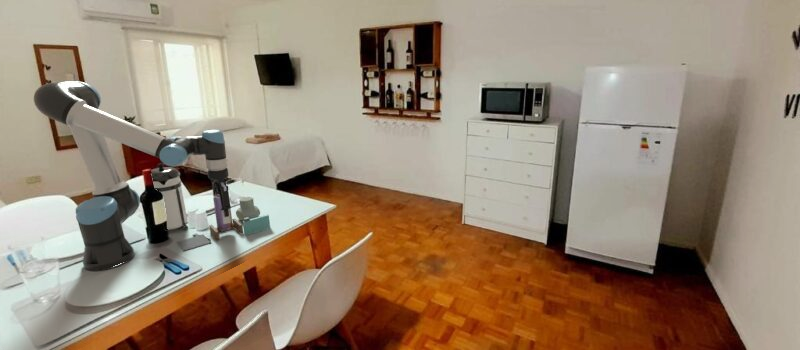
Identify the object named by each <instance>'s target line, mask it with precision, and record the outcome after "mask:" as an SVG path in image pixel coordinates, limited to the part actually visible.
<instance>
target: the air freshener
mask: <svg viewBox="0 0 800 350" xmlns="http://www.w3.org/2000/svg"><path fill="white" fill-rule="evenodd" d="M235 214H236V215H235V216H236V217H237V219H238V220H240V221H242V222H243V221H244V220H243V218H246V217H249V218H250V219H253V218H257V217H260V215H261V210H260V208H259V207H258V206H256V205H255V203H254V197H252V196H251V197H250V196H245V197H241V198H240V199H239V208H238V209H236V211H235Z"/></svg>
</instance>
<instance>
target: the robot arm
mask: <svg viewBox="0 0 800 350" xmlns="http://www.w3.org/2000/svg"><path fill="white" fill-rule="evenodd" d="M101 101H102V100H101V96H100V93H99V92H98V90H97V89H95V88H94V87H93V86H92V85H90V84H88V83H86V82H83V81H79V80H71V81H70V80H67V81H60V82H49V83H45V84H42V85H41V86H39V87H38V88H37V89H36V91H35V92H34V95H33V103H34V105H35V107H36V108H37V110H38V111H39V113H41V114H43V115H44V116H46V118H47V117H48V118H49V119H51V120H53V121H56V122H58V123H61V124H63V125H65V126H68V128H69V129H70V132H71V135H72V137H73V139H74V142H75V143H76V146H77V148H78V151H79V152H80V155H81V157H82V160H83V162H84V165H85V167H86V170H87V172H88V175H89V176H90V179H91V182H92V184H93V186H94V189H93V191H92V196H93V197H92V198H90V199H86V200H83V201H82V202H80V203H79V204H78V205H77V206H76V208H75V218H76V219H75V220H76V221H77V224H78V228H79V231H80V234H81V237H82V240H83V244H84V252H83V258H82V264H83V268H84V270H87V271H92V272H97V271H106V270H109V269H108V268H110V269H112V268H111V267H113V266H115V265H118V264H120V263H123V262H126V261H128V262H130V261H131V260H132V259H133V258H134V257H135V251H134V250H135V249H134V247H133V245H132V244H131V243H130V242H129V241H128V239H127V238H126V237H125V234H124V230H123V229H124V228H123V225H122V224H123V223H124V222H125V221H127V220H128V219H129V218H130V217H132V216H133V215H134V214H135V213H136V212H137V210H138V209H139V208H140V207H139V206H140V204H141V198H140V195H139V194H138V193H137V191H136V190H135V189H132V188H131V187H130V185H129V183H128V182H126V181H124V180H122V177H121V175H120V172H119V170H118V168H117V165H116V163H115V162H116V161H115V160H114V157H113V155H112V152H111V149H110V147H109V145H108V143H107V140H106V138H107V139H110V140H112V141H114V142H118V143H120V144H123V145H125V146H128V147H131V148H134V149H136V150H138V151H141V152H143V153H146V154H148V155H151V156H153V157H156V158H159V159H160V161H161V163H162V164H163V165H164V166H165V165H166V167H167V166H168V167H177V166H179V165H181V164H183V163H185V161H186V160H188V159H189V158H190V157H191V156H205V164H206V169H207V178H208V179H209V180H210V182H211V185H212V186H211V187H212V195H213V196H212V197H213V198H214V195H215V194H216V195H217V194H219V196H220V200H221V205H222V209H220V210H222V218H223V224H227V223H231V222H230V213H229V209H230V208H231V207H232V206H231V200H230V194H229V186H228V185H227V183H226V181H225V179H227V178H228V177H229V169H228V161H229V159H228V158H227V153H226V141H225V138H224V133H223V131H222V130H219V129H210V130H209V129H207V130H204V131H202V135H189V136H188V135H187V136H186V135H185V136H184V135H183V136H182V135H177V136H171V137H170V138H167V137H165V136H163V135H161V134H158V133H156V132H153V131H151V130H148V129H146V128H143V127H142V126H138V125H137V124H134V123H132V122H129V121H127V120H124V119H122V118H119V117H117V116H114V115H112V114H109V113H107V112H106V111H103V110H100V109H99V108H100V106H101V103H102V102H101ZM126 263H127V262H126ZM105 269H106V270H105Z"/></svg>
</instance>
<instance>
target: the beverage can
mask: <svg viewBox="0 0 800 350" xmlns="http://www.w3.org/2000/svg"><path fill="white" fill-rule="evenodd" d="M213 206H214V213H215V220H216V228H218V229H219V230H225V231H228V229H229V230H232V229H233V228H232V226H233V224H232V223H233V220H232V219H233V218H232V210H231V208H230V209H229V213H230V222H231V223H227V224H223V218H222V210H220V209H222V205H221V200H220V196H219V194H217V195H216V194H215V195H214V197H213ZM231 228H232V229H231Z"/></svg>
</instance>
